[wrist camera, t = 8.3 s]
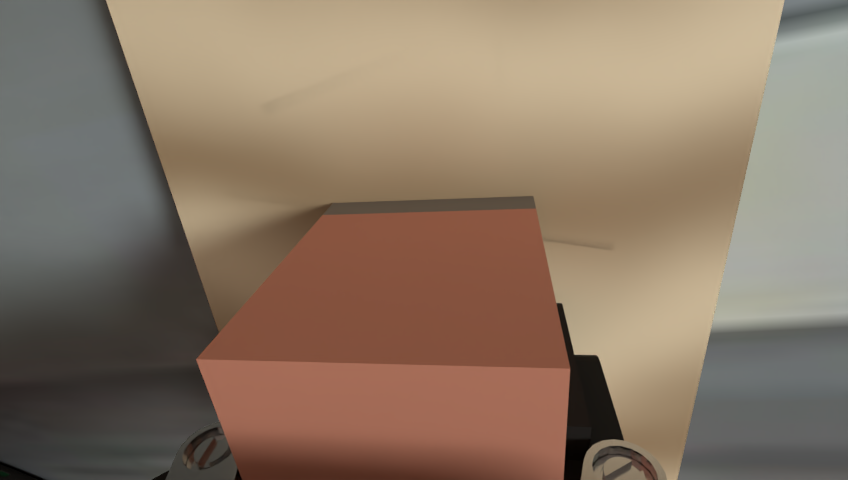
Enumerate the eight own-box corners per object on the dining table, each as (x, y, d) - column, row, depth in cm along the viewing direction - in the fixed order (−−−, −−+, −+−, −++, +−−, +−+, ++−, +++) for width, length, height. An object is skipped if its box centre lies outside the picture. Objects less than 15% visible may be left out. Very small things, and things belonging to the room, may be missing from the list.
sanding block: (332, 203, 12) (195, 359, 6) (533, 196, 11) (569, 369, 6) (375, 429, 15) (309, 655, 10) (530, 436, 14) (550, 688, 9)
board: (11, -456, 8) (-80, -546, 7) (886, -732, 6) (994, -940, 5) (288, 454, 19) (271, 488, 17) (653, 478, 16) (668, 519, 15)
